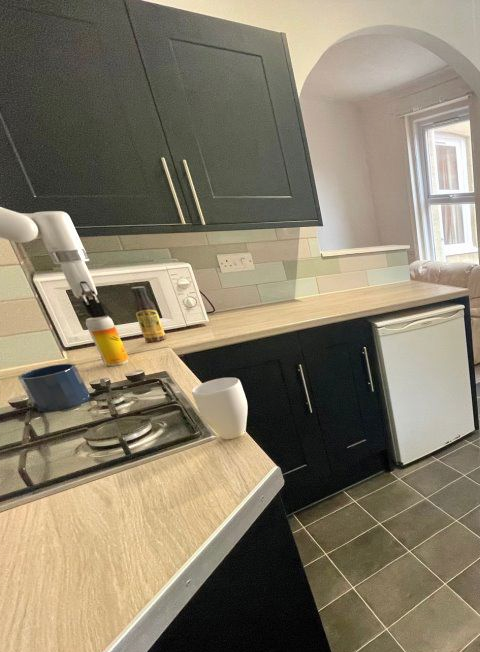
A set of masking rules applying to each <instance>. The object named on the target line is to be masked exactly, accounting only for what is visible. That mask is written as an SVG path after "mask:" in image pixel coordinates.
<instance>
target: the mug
mask: <svg viewBox="0 0 480 652" xmlns="http://www.w3.org/2000/svg"><path fill="white" fill-rule="evenodd" d="M191 395H192V397H193V400H194V403H195V405H196V407H197V411H198V412H199V415H200V417H201V418H202V419H203V421H204V422H205V423H206V424H207V425H208V426H209V427H210V428H211V429H212V430H213V431H214V432H215V433H216V434H217V435H218V436H219V437H220V438H221V439H222V440H233V439H236V438H239V437H241V436H243V435H245V433H246V429H247V421H248V420H247V419H248V411H249V410H248V401H247V398H246V394H245V391H244V388H243V385H242V382H241V380H240V379H239V378H237V377H221V378H216V379H211V380H208V381H204V382H203V383H200V384H198V385H196V386H195V387H194V388H192V389H191ZM243 430H244V431H245V432H244V431H243Z"/></svg>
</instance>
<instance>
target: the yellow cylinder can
mask: <svg viewBox="0 0 480 652" xmlns="http://www.w3.org/2000/svg"><path fill="white" fill-rule="evenodd" d="M85 326H86V328H87V330H88V332H89V334H90V336H91V338H92V340H93V341H92V342H93V343H94V345H95V347H96V350H97V351H98V353H99V355H100V357H101V360H102V362H103V364H104V365H105V366H107V367H117V366H122V365H125V364H127V363H128V362H129V360H130V357H129V355H128V353H127V351H126V349H125V348H126V347H125V345H124V344H123V341H122V339H121V336H120V335H119V333H118V330H117V328H116V326H115V324H114V322H113V319H112V318H111V317H110V316H109V315H106V316H103V317H97V318H92V317H89V318H86V319H85Z"/></svg>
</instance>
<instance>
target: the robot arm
mask: <svg viewBox="0 0 480 652" xmlns="http://www.w3.org/2000/svg"><path fill="white" fill-rule="evenodd" d="M0 238H1V239H4V240H7V241H11V242H14V243H29V242H31V241H33V240H34V241H35V240H39V239H41V240H42V241H43V244H44V246H45V248H46V250H47V251H48V254H49V256H50V258H51V260H52V262H53V264H54V265H60V268H61V271H62V273H63V275H64V277H65V279H66V282H67V283H68V284H67V285H68V286H69V288H70V289H71V291H72V294H73V296H74V297H75V298H76V299H80V297H81V300H82V304H83V305H84V307H85V309H86V312H87V313H88V314H89V316H90V318H97V317H103V316H107V314H106V312H105V310H104V307H103V306H102V303H101V302H100V301H99V299H98V297H97V296H98V291H97V288H96V285H95V283H94V280H93V277H92V275H91V273H90V271H89V268H88V266H87V264H86V262H90V259H89V256H88V254H87V251H86V249H85V247H84V245H83V243H82V241H81V238H80V236H79V234H78V232H77V230H76V228H75V225H74V223H73V221H72V219H71V217H70V215H69V214H68V213H67V212H65V211H62V210H49V211H46V210H45V211H37V212H33V213H26V212H24V213H22V212H17V211H14V210H11V209H7V208H5V207H1V206H0Z"/></svg>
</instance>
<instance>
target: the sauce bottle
mask: <svg viewBox="0 0 480 652" xmlns="http://www.w3.org/2000/svg"><path fill="white" fill-rule="evenodd" d="M130 291H131V293H132V295H133V298H134V302H133V310H134V312H135V317H136V319H137V322H138V325H139V327H140V330H141V333H142V336H143V337H144V340H145V342H146V343H155V342H160V340H161V341H164V340H165V339H166V333H165V331H164V327H163V324H162V321H161V318H160V316H159V313H158V310H157V308H156V305H155V303H154V302H153V301H152V300H150V298H149V296H148V293H147V288H146V287H145V286H132V287H130ZM163 339H164V340H163Z"/></svg>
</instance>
